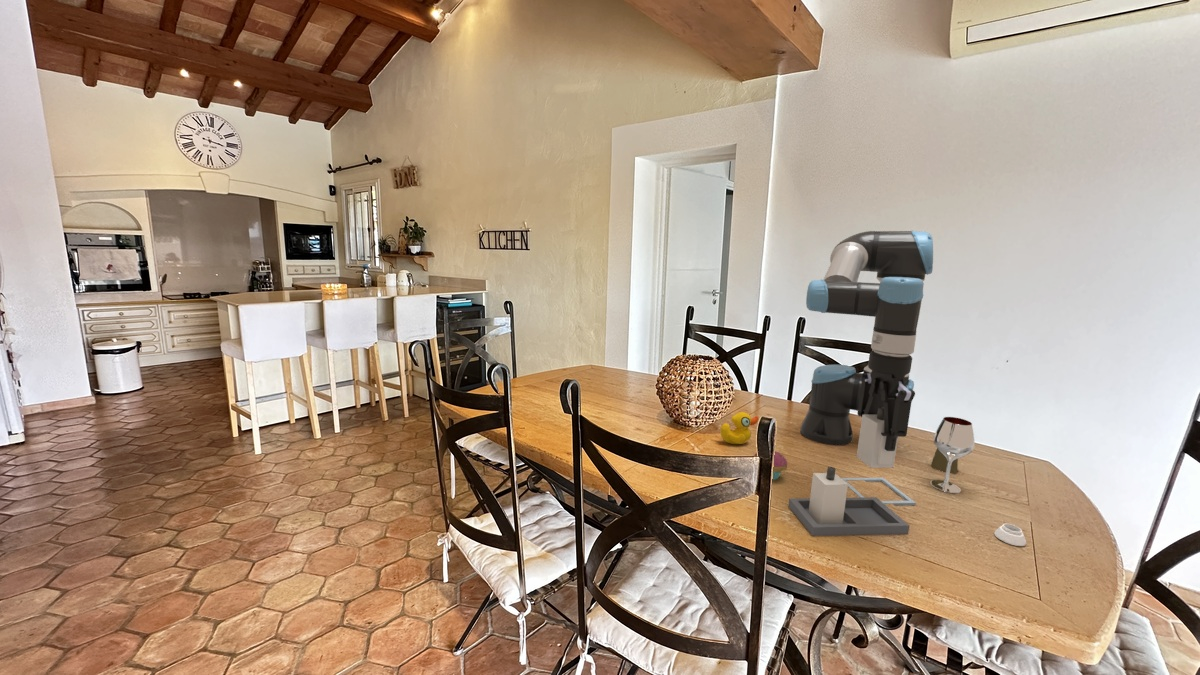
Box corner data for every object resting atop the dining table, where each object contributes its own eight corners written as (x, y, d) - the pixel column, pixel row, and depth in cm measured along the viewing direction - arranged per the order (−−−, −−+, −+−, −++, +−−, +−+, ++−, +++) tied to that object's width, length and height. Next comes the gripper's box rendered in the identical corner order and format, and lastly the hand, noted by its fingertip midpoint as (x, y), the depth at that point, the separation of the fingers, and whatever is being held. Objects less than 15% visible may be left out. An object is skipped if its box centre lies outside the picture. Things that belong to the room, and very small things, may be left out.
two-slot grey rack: (788, 508, 107) (789, 498, 107) (874, 506, 108) (876, 497, 108) (811, 537, 96) (813, 527, 96) (907, 536, 98) (909, 525, 97)
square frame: (838, 480, 120) (838, 478, 120) (882, 479, 121) (882, 477, 121) (867, 505, 109) (867, 503, 109) (915, 505, 109) (916, 502, 109)
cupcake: (757, 466, 127) (761, 425, 125) (789, 475, 122) (794, 433, 120) (747, 478, 120) (751, 436, 118) (780, 489, 116) (785, 444, 113)
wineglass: (970, 498, 113) (984, 429, 109) (931, 491, 116) (943, 424, 112) (958, 482, 120) (970, 417, 117) (921, 476, 123) (932, 413, 120)
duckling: (752, 439, 145) (755, 409, 143) (759, 446, 140) (762, 415, 138) (717, 439, 144) (719, 409, 142) (722, 447, 139) (725, 416, 137)
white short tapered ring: (1014, 549, 94) (1031, 545, 95) (1017, 536, 93) (1034, 532, 95) (988, 534, 99) (1004, 531, 100) (991, 522, 98) (1007, 519, 100)
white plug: (808, 513, 104) (814, 463, 102) (829, 513, 105) (836, 462, 102) (819, 526, 99) (826, 474, 97) (842, 526, 100) (849, 474, 97)
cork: (962, 474, 125) (969, 436, 123) (937, 471, 126) (944, 434, 124) (950, 464, 131) (957, 427, 128) (926, 461, 132) (933, 425, 130)
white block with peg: (856, 457, 102) (864, 404, 99) (878, 456, 102) (886, 404, 100) (870, 467, 97) (879, 412, 95) (893, 467, 97) (902, 412, 95)
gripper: (848, 343, 103) (835, 439, 108) (904, 363, 86) (886, 477, 90) (880, 343, 104) (866, 439, 108) (942, 363, 86) (922, 477, 91)
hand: (875, 456), depth 99 cm, fingers closed on white block with peg, 5 cm apart
